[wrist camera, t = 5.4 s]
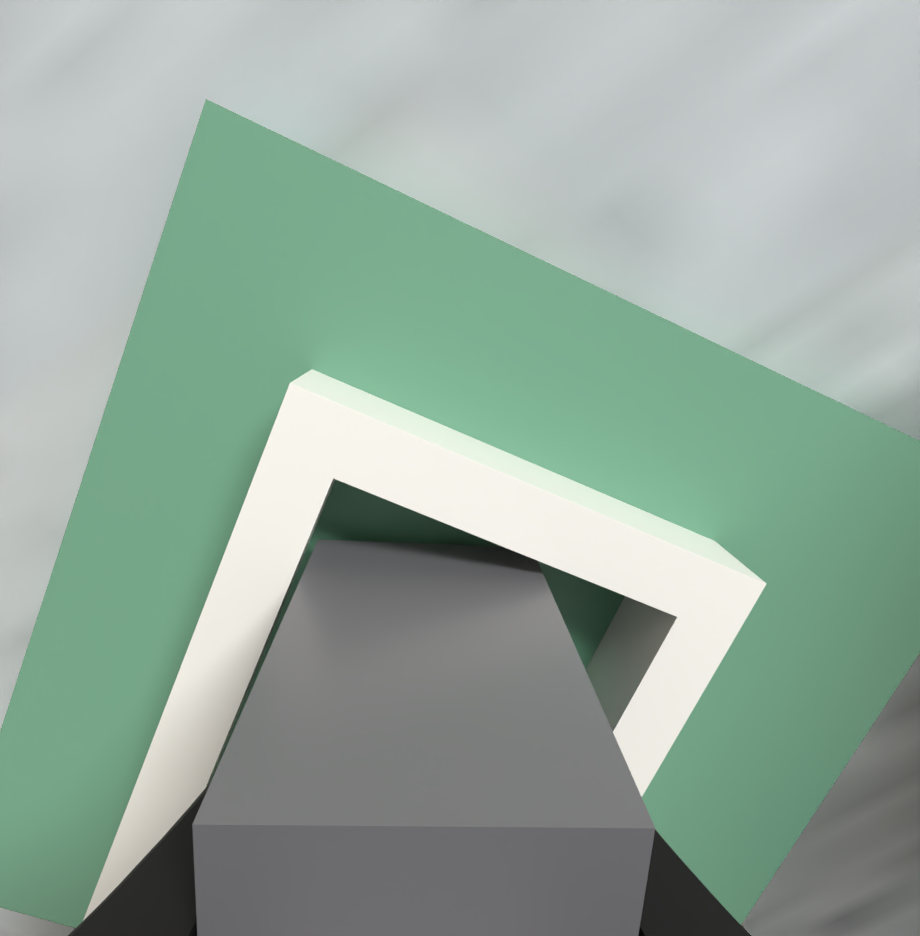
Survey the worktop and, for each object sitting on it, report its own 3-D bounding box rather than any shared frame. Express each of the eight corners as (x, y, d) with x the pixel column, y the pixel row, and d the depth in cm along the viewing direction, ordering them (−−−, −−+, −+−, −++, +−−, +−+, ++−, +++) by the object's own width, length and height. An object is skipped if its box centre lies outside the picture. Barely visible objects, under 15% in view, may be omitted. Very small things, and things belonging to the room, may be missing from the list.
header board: (988, 480, 12) (1131, 524, 10) (625, 1044, 16) (665, 1188, 13) (222, 114, 10) (156, 53, 8) (-25, 858, 13) (-129, 988, 11)
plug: (531, 547, 11) (655, 827, 5) (504, 838, 12) (577, 1319, 6) (317, 539, 11) (193, 824, 5) (315, 837, 12) (215, 1333, 6)
